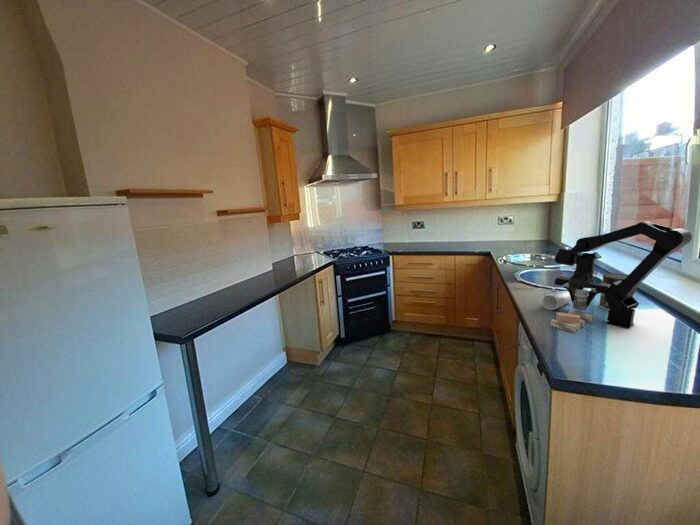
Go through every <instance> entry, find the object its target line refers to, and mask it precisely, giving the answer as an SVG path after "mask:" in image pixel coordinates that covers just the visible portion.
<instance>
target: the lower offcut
mask: <svg viewBox="0 0 700 525" xmlns="http://www.w3.org/2000/svg"><path fill="white" fill-rule="evenodd" d="M564 323H567V322H564ZM568 324H572V325H575V326H577V328H576V330H577V331H576V332H578V331H579V330H580V329H581V327H580V324H574V323H568Z"/></svg>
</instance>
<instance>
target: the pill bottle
mask: <svg viewBox="0 0 700 525" xmlns="http://www.w3.org/2000/svg"><path fill="white" fill-rule="evenodd" d="M588 292H589V290H588V289H586V288H583V289H582V290H578V289H576V293H575V294H574V303H572V304H573V305H572V308H573V310H574V311H575V310H576V311H578V312H585V311H587V310H588V306H587V300H588V295H589V294H588Z"/></svg>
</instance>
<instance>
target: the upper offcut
mask: <svg viewBox="0 0 700 525" xmlns="http://www.w3.org/2000/svg"><path fill="white" fill-rule="evenodd" d="M555 315H556V319H555V320H557V321H561V322H567V323H574V324H580V320H581V319H580V315H575V314H568V312H567V313H565V312H560V311H559V312H556V314H555Z"/></svg>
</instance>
